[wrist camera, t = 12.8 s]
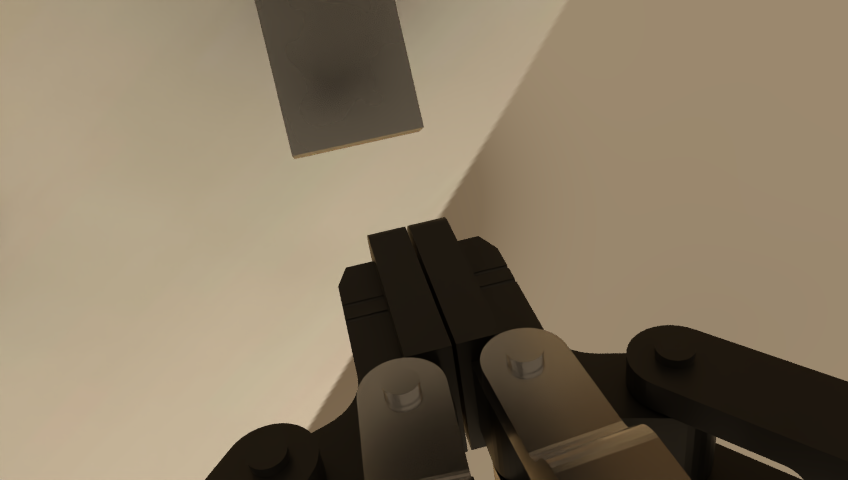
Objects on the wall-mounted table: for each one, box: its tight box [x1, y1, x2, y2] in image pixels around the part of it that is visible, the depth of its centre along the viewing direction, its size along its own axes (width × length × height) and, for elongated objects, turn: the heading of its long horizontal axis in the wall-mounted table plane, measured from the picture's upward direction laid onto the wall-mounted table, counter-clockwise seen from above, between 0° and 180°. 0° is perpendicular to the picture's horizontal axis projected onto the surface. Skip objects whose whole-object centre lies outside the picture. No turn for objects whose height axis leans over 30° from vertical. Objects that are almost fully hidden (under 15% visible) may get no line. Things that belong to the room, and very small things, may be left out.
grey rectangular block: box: [255, 0, 424, 159], centre depth 23 cm, size 7×4×1 cm
